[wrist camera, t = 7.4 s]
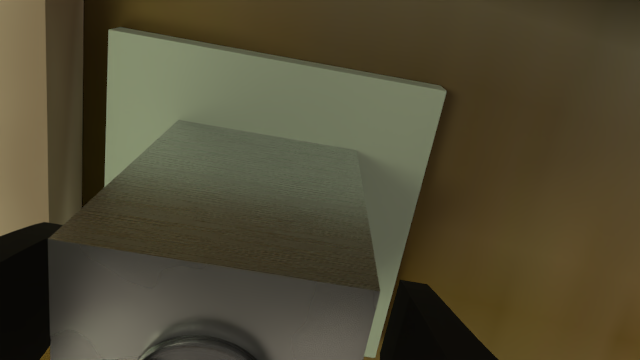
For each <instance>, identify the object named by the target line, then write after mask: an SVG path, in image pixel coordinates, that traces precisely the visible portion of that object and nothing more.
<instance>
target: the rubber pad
mask: <svg viewBox="0 0 640 360" xmlns="http://www.w3.org/2000/svg"><path fill="white" fill-rule="evenodd" d="M446 92H447V91H446V90H445V89H444V88H443V87H442V86H440V85H435V84H429V83H424V82H418V81H413V80H407V79H402V78H396V77H391V76H385V75H380V74H374V73H369V72H364V71H358V70H353V69H347V68H342V67H336V66H331V65H325V64H320V63H314V62H309V61H303V60H298V59H292V58H287V57H281V56H276V55H270V54H265V53H260V52H254V51H249V50H243V49H238V48H232V47H227V46H221V45H216V44H210V43H205V42H199V41H194V40H188V39H183V38H177V37H172V36H167V35H161V34H156V33H150V32H145V31H139V30H134V29H128V28H123V27H118V28H114V29H109V32H108V70H107V108H106V147H105V185H104V187H105V186H106V185H108V184H109V183H110V182H111V181H112V180H113V179H114V178H115V177H116V176H117V175H118V174H120V173H121V172H122V171H123V170H124V169H125V168H126V167H127V166H128V165H129V164H131V163H132V162H133V161H134V160H135V159H136V158H137V157H138V156H139V155H140V154H141V153H143V152H144V151H145V150H146V149H147V148H148V147H149V146H150V145H151V144H152V143H154V142H155V141H156V140H157V139H158V138H159V137H160V136H161V135H162V134H163V133H164V132H166V131H167V130H168V129H169V128H170V127H171V126H172V125H173V124H174V123H175V122H177V121H178V120H182V121H188V122H194V123H200V124H206V125H211V126H217V127H223V128H229V129H235V130H241V131H247V132H252V133H258V134H264V135H270V136H276V137H282V138H288V139H293V140H299V141H305V142H311V143H317V144H323V145H329V146H334V147H340V148H346V149H352V150H357V155H358V161H359V167H360V173H361V179H362V185H363V191H364V197H365V203H366V209H367V215H368V221H369V227H370V233H371V238H372V244H373V250H374V256H375V262H376V268H377V274H378V280H379V286H380V295H379V299H378V303H377V307H376V311H375V315H374V319H373V323H372V327H371V330H370V334H369V338H368V342H367V346H366V350H365V354H364V356H365V357H372V358H375V356H376V352H377V348H378V345H379V341H380V337H381V333H382V330H383V326H384V322H385V319H386V315H387V311H388V307H389V304H390V300H391V296H392V293H393V289H394V285H395V282H396V278H397V274H398V270H399V267H400V263H401V259H402V256H403V252H404V248H405V244H406V241H407V237H408V233H409V230H410V226H411V222H412V218H413V215H414V211H415V207H416V204H417V200H418V196H419V192H420V189H421V185H422V181H423V178H424V174H425V170H426V166H427V163H428V159H429V155H430V152H431V148H432V144H433V140H434V137H435V133H436V129H437V126H438V122H439V118H440V114H441V111H442V107H443V103H444V100H445V96H446Z"/></svg>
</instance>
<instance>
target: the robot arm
mask: <svg viewBox="0 0 640 360" xmlns="http://www.w3.org/2000/svg"><path fill="white" fill-rule="evenodd" d="M62 226H63V225H60V224H54V223H48V222H42V223H38V224H34V225H31V226H28V227H25V228H22V229H19V230H16V231H13V232H10V233H8V234H5V235H2V236H0V360H39V359H40V358H41V357H42V356H43V354H44V353H45V352H46V350H47V349H48V347H49V346H50V313H49V270H48V238H49V237H51V236H52V235H53V234H54V233H55V232H56V231H57V230H58V229H59V228H60V227H62ZM380 360H498V359H497V358H496V357H495V356H494V355H493V354H492V353H491V352H490V351H489V350H488V349H487V348H486V347H485V346H484V345H483V344H482V343H481V342H480V341H479V340H478V339H477V338H476V337H475V335H474V334H473V333H472V332H471V331H470V330H469V329H468V328H467V327H466V326H465V325H464V324H463V323H462V321H461V320H460V319H459V318H458V317H457V316H456V315H455V314H454V313H453V312H452V310H451V309H450V308H449V307H448V306H447V305H446V304H445V303H444V302H443V300H442V299H441V298H440V297H439V296H438V295H437V294H436V293H435V292H434V291H433V290H432V289H431V288H430V287H429V286H428V285H427V284H422V283H416V282H410V281H404V280H400V282H399V286H398V289H397V293H396V297H395V300H394V304H393V308H392V311H391V315H390V319H389V322H388V326H387V330H386V333H385V337H384V341H383V344H382V348H381V352H380Z"/></svg>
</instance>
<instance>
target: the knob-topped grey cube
mask: <svg viewBox="0 0 640 360" xmlns="http://www.w3.org/2000/svg"><path fill="white" fill-rule="evenodd" d="M48 270H49V313H50V356H51V360H363V358H364V354H365V350H366V346H367V342H368V338H369V334H370V330H371V327H372V323H373V319H374V315H375V311H376V307H377V303H378V299H379V295H380V286H379V280H378V274H377V268H376V262H375V256H374V250H373V244H372V238H371V233H370V227H369V221H368V215H367V209H366V203H365V197H364V191H363V185H362V179H361V173H360V167H359V161H358V155H357V150H352V149H346V148H340V147H334V146H329V145H323V144H317V143H311V142H305V141H299V140H293V139H288V138H282V137H276V136H270V135H264V134H258V133H252V132H247V131H241V130H235V129H229V128H223V127H217V126H211V125H206V124H200V123H194V122H188V121H182V120H178V121H177V122H175V123H174V124H173V125H172V126H171V127H170V128H169V129H168V130H167V131H166V132H164V133H163V134H162V135H161V136H160V137H159V138H158V139H157V140H156V141H155V142H154V143H152V144H151V145H150V146H149V147H148V148H147V149H146V150H145V151H144V152H143V153H141V154H140V155H139V156H138V157H137V158H136V159H135V160H134V161H133V162H132V163H131V164H129V165H128V166H127V167H126V168H125V169H124V170H123V171H122V172H121V173H120V174H118V175H117V176H116V177H115V178H114V179H113V180H112V181H111V182H110V183H109V184H108V185H106V186H105V187H104V188H103V189H102V190H101V191H100V192H99V193H98V194H97V195H95V196H94V197H93V198H92V199H91V200H90V201H89V202H88V203H87V204H86V205H85V206H83V207H82V208H81V209H80V210H79V211H78V212H77V213H76V214H75V215H74V216H72V217H71V218H70V219H69V220H68V221H67V222H66V223H65V224H64V225H63V226H62V227H60V228H59V229H58V230H57V231H56V232H55V233H54V234H53V235H52V236H51V237H49V238H48Z"/></svg>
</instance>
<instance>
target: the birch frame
mask: <svg viewBox="0 0 640 360" xmlns="http://www.w3.org/2000/svg"><path fill="white" fill-rule="evenodd" d="M83 20H84V0H0V236H2V235H5V234H8V233H10V232H13V231H16V230H19V229H22V228H25V227H28V226H31V225H34V224H38V223H42V222H48V223H54V224H60V225H64V224H65V223H66V222H67V221H68V220H69V219H70V218H71V217H72V216H74V215H75V214H76V213H77V212H78V211H79V210H80V209H81V208H82V133H83Z"/></svg>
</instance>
